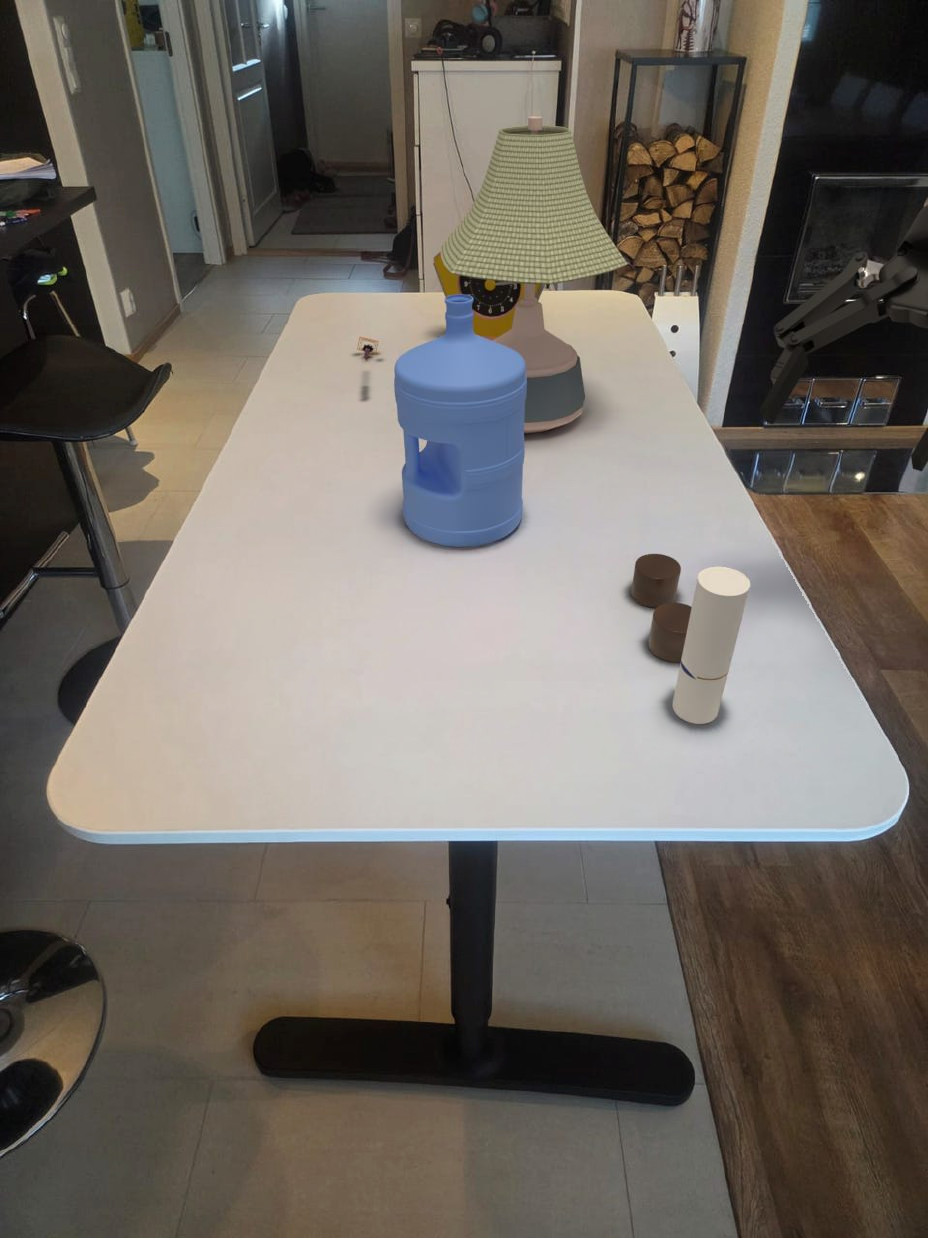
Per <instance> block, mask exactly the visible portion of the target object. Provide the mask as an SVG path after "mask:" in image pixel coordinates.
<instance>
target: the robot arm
mask: <svg viewBox="0 0 928 1238" xmlns="http://www.w3.org/2000/svg"><path fill="white" fill-rule="evenodd" d="M873 281H879V284H877V285H874V286H873V287H871V288H869V289H868V290H866V291H864V292H863V294H862V295H861V297H859V298H857V299H856V300H853V301H852V302H850V303H847V304H846V305H844V306H842V307H840V306H841V305H843V304H844V303H845V302H847V301H848V300H849V299H851V298H852V297H854V295H855V294H856V293H857V292H858V291H859V289H865V288H867V286H868V284H870V283H871V282H873ZM881 300H882V303H880V304H878V303H879V302H880V301H881ZM839 307H840V308H839ZM837 308H838V309H837ZM836 309H837V310H836ZM887 317H889V318H890V320H891V322H895V323H901V324H902V323H905V324H906V323H909V324H912V325H914V326H916V327H919V328H923V329H928V197H926V200H925V202H924V204H923V207H922V208H921V210H920V211H919V212H918V214H917V215H916V217H915V219H914V220H913V222H912V224H911V226H910V228H909V229H908V231H907V232H906V234H905V236H903V239H902V241H901V243H900V244H899V246H898V249H897V250H896V252H895V254H894V255H893V257H892V258H891V259H890V260H888V261H887V262H886V263H880V262H877V261H873V260H870V259H869V257H868V254H867V252H865V251H859V252H856V253H855V254H854V255H853V256H852V257H851V259H850V260H849V262H848V263H847V264H846V265H845V267H844V269H843V270H842V271H841V272H840V273H839V274H838V275H836V276H835V277H833V278H832V280H830V281H828V282H827V283H826V284H825V285H823V286H822V287H821V288H820V289H818V290H817V291H816V292H815V293H814V294H812V295H811V296H810V297H809V298H807V299H806V300H804V302H802V303H801V304H800V305H798V306H797V307H796V308H795V309H794V310H792V311H791V312H789V314H787V315H786V316H784V317H783V319H781V320H780V321H778V322H776V324H775V325H774V326H773V330H772V331H773V333H774V337H775V339H776V341H777V345H778V347H779V348H781V349H782V348H783V349H782V350H783V351H782V352H781V353H780V356H779V357H778V359H777V360H776V363H775V364H774V366H773V368H772V369H771V371H770V376H769V377H770V380H771V383H772V387H771V388H770V390H769V392H768V393H767V396H766V397H765V398H764V401H763V402H762V404H761V406H760V407H759V411H760V413H761V415H762V417H763V420H764V421H765V423H767V424H771V425H774V424H775V422H776V420H777V418H778V417H779V415H780V414H781V412H782V410H783V408H784V406H785V405H786V403H787V402H788V400H789V398H790V396H791V395H792V393H793V391H794V390H795V387H796V386H797V384H798V382H799V381H800V379H801V377H802V375H803V374H804V373H805V370H806V369H807V367H808V366H809V364H810V363H809V360H808V357H807V355H809V354H811V353H813V352H815V351H817V350H818V349H819V350H820V349H821V348H822V347H824V346H827V345H828V344H830V343H833V342H834V341H836V340H838V339H840V338H842V337H844V336H846V335H848V334H850V333H852V332H854V331H856V330H857V329H859V328H861V327H863V326H865V325H868V324H869V323H870V324H875V323H878V322H879V321H882V320H883V319H885V318H887ZM910 458H911V467H912V469H913V470H916V471H918V472H923V471H924V469H925V467H926V466H927V464H928V427H927V428H926V429H925V430H924V433H923V434H922V436H921V438H920V439H919V440H918V442H917V444H916V446H915V448H914V449H913V450H912V453H911V454H910Z"/></svg>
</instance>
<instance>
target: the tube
mask: <svg viewBox="0 0 928 1238" xmlns="http://www.w3.org/2000/svg"><path fill="white" fill-rule="evenodd" d="M750 589H751V582H750V579H749V578H748V576H746V575H745V574H744V573H742V572H741V571H739V570H736V569H734V568H731V567H727V566H710V567H706V568H704V569H702V570H701V571H700V572H699V573H698V574H697V579H696V584H695V589H694V595H693V599H692V603H691V604H692V605H691V607H692V609H691V614H690V619H689V624H688V629H687V634H686V639H685V644H684V649H683V654H682V659H681V662H680V664H679V669H678V674H677V679H676V683H675V684H676V685H675V689H674V693H673V698H672V710H673V712H674V713H675V715H676V716H677V717H679V719H681V720H683V721H685V722H687V723H691V724H695V725H705V724H708V723H711V722H713V721H714V720H715V719H716V718H718V715H719V712H720V707H721V703H722V700H723V695H724V691H725V687H726V683H727V679H728V675H729V673H730V672H729V671H730V667H731V665H732V664H731V663H732V660H733V655H734V652H735V648H736V644H737V639H738V635H739V632H740V627H741V625H742V621H743V615H744V612H745V608H746V604H747V601H748V596H749V593H750Z"/></svg>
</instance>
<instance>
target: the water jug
mask: <svg viewBox="0 0 928 1238" xmlns="http://www.w3.org/2000/svg"><path fill="white" fill-rule="evenodd" d="M444 303H445V309H446V310H445V312H444V319H445V332H444V334H443V335H441V336H438V337H436V338H434V339H431V340H429V341H426V342H424V343H421V344H419V345H417V346H415V347H412V348H411V349H408V350H407V351H405V352H404V353H402V354H401V355H400V356H399V357H398V358H397V360H396V361H395V364H394V371H393V372H394V379H393V389H394V398H395V403H396V413H397V414H396V415H397V422H398V424H399V427H400V428H401V429H402V431H403V445H404V462H405V463H404V464H403V466H402V469H401V485H402V497H403V498H402V513H403V514H402V515H403V519H404V522H405V525H406V526H407V527H408V529H409V530H410V531H411V532H412V533H414V534H415V535H416V536H418V537H419V538H421V539H423V540H425V541H427V542H430V543H433V544H435V545H441V546H446V547H452V548H453V547H457V548H466V547H467V548H469V547H470V548H471V547H477V546H483V545H487V544H491V543H494V542H497V541H499V540H501V539H503V538H505V537H507V536H509V535H510V534H511V533H512V532H513V531H515V529H516V528H517V527H518V526H519V524H520V522H521V520H522V518H523V511H524V508H523V506H524V500H523V478H524V477H523V476H524V475H523V473H524V463H525V454H526V453H525V451H526V450H525V448H526V446H525V444H526V443H525V433H524V418H525V400H526V394H527V376H526V363H525V361H524V359H523V357H522V356H521V355H520V354H519V353H518V352H516V351H515V350H513V349H511V348H509V347H507V346H504V345H502V344H499V343H496V342H494V341H491V340H489V339H486V338H483V337H481V336H478V335H476V334H475V333H474V331H473V312H472V303H473V297H472V296H469V295H464V294H456V295H450V296H447V297H444ZM420 440H423V441H426V443H425V446H424V448H423V449H421V450H420Z"/></svg>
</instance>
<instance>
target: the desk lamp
mask: <svg viewBox="0 0 928 1238" xmlns="http://www.w3.org/2000/svg"><path fill="white" fill-rule="evenodd" d="M578 159H579V158H578V155H577V151H576V146H575V142H574V137H573V133H572V130H571V129H569V128H567V127H564V126H557V125H543V117H542V116H528V119H527V125H518V126H509V127H503V128H500V129H499V131H498V134H497V137H496V140H495V143H494V146H493V151H492V154H491V156H490V160H489V163H488V167H487V171H486V173H485V176H484V178H483V181H482V184H481V187H480V190H479V192H478V194H477V195H476V198H475V199H474V201H473V203H472V205H471V207H470V209H469V210H468V211H467V213H466V214H465V215H464V217H463V219H462V220H461V221H460V223H459V224H458V225H457V226H456V228H455V229H454V230H453V232H452V233H451V234H450V235H449V237H448V238H446V240H445V242H443V244H442V245H441V246H440V251H441V258H442V261H443V263H444V265H445V267H446V268H447V269H448V270H449V271H450V272H451V273H452V274H454V275H459V276H465V277H471V278H477V279H485V280H493V281H502V282H512V283H522V284H524V297H523V298H521V302H518V303H517V304H516V307H515V313H514V319H513V324H512V329H511V330H509V331H508V332H506V333H504V334H503V335H501V336H499V337H498V338H496V339H494V340H493V341H494V342H496V343H499V344H502V345H504V346H507V347H509V348H511V349H513V350H515V351H516V352H518V353H519V354H520V355H521V356H522V357H523V359H524V361H525V363H526V376H527V394H526V400H525V418H524V434H533V433H543V432H546V431H550V430H553V429H556V428H559V427H562V426H565V425H567V424H569V423H571V422H573V421H574V420H576V419H577V418H578V417H579V416H581V415H582V413H583V410H584V405H585V400H586V393H585V385H584V379H583V371H582V364H581V363H582V362H581V357H580V356H579V355H578V352H577V350H576V349H575V348H574V347H573V346H572V345H571V344H569V343H567V342H565V341H564V340H562V339H560V338H559V337H558V336H556V335H554V334H552V333H551V332H549V331H548V330H547V329H546V327H545V319H544V311H543V310H544V309H543V304H542V302H540V301H538V302H537V298H535V284H545V285H555V284H563V283H568V282H574V281H578V280H582V279H586V278H591V277H596V276H599V275H602V274H607V273H610V272H613V271H615V270H618V269H621V268H625V267H626V266H627V265H628V262H627V261H626V259H625V258H624V257H623V255H622V253H621V251H620V250H619V249H618V247H617V246H616V245H615V243H614V242H613V240H612V239H611V237H610V236H609V234H608V232H607V231H606V229H605V228H604V226H603V224H602V222H601V221H600V219H599V217H598V216H597V213H596V212H595V209H594V207H593V205H592V202H591V200H590V197H589V195H588V192H587V189H586V186H585V182H584V179H583V176H582V171H581V168H580V164H579V160H578Z"/></svg>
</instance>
